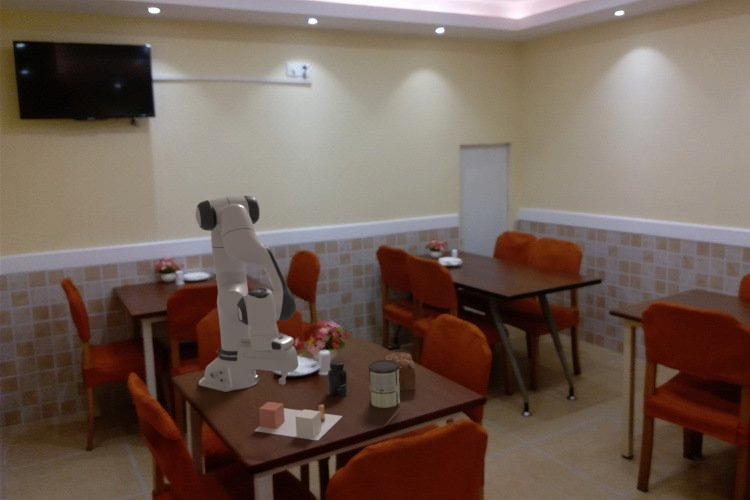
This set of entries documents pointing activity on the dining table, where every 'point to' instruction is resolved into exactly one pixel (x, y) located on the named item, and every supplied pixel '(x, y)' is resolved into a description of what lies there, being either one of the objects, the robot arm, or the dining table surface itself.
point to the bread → (404, 370)
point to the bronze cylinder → (322, 412)
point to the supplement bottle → (337, 379)
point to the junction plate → (290, 425)
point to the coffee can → (384, 383)
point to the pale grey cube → (308, 423)
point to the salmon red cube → (271, 415)
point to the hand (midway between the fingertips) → (269, 382)
